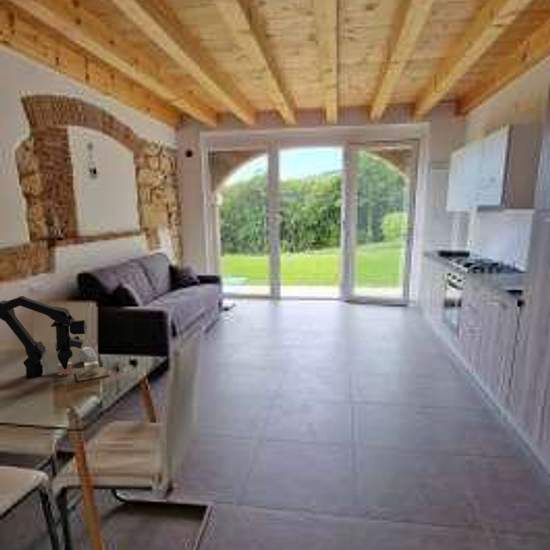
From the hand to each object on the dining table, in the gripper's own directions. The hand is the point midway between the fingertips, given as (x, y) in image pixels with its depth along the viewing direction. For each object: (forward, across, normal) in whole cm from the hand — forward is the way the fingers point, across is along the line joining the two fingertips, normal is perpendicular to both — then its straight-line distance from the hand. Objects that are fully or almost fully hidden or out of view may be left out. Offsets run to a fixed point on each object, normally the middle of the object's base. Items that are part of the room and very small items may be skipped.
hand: (64, 365), depth 200 cm
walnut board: (+4, -8, -11) cm, 14 cm away
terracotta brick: (+4, 0, 0) cm, 4 cm away
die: (+4, +11, -11) cm, 16 cm away
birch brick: (+3, -8, -11) cm, 14 cm away
